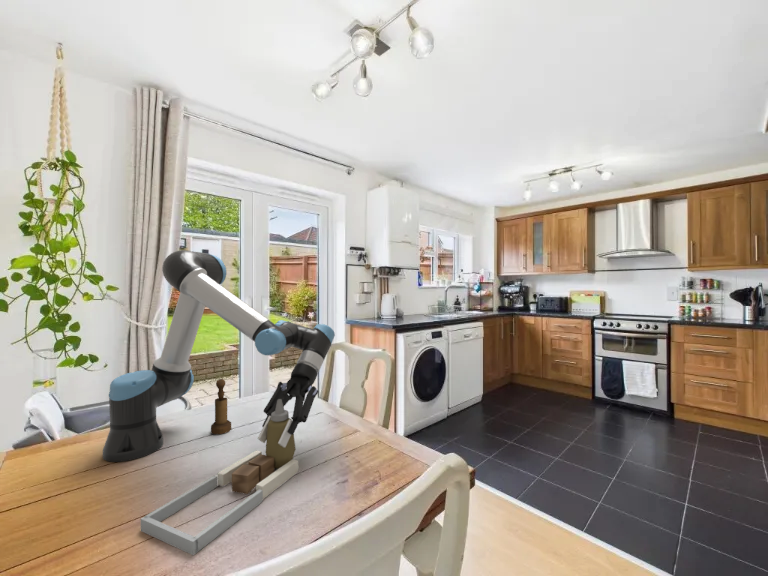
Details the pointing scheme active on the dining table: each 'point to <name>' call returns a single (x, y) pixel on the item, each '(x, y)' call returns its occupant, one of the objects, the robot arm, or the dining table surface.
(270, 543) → the dining table surface
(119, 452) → the robot arm
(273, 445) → the squeeze bottle
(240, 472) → the brown cube block
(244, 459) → the slot rails
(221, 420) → the wooden pepper mill
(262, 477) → the brown cubic block
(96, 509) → the dining table surface
